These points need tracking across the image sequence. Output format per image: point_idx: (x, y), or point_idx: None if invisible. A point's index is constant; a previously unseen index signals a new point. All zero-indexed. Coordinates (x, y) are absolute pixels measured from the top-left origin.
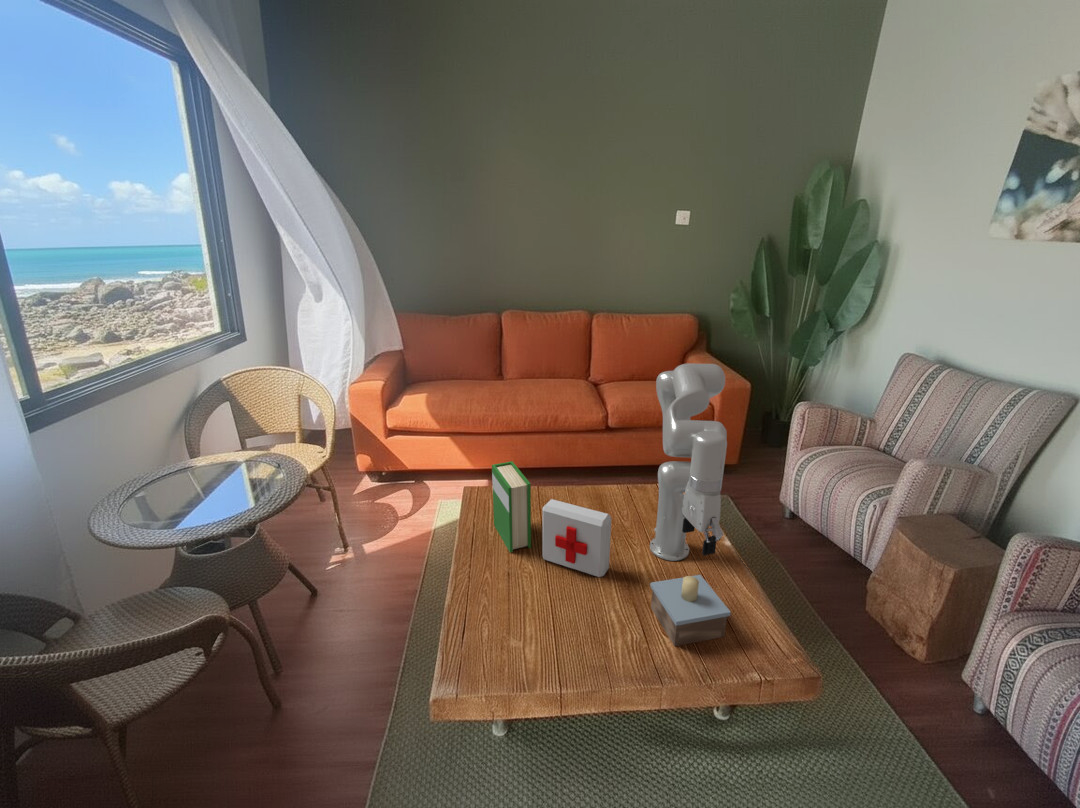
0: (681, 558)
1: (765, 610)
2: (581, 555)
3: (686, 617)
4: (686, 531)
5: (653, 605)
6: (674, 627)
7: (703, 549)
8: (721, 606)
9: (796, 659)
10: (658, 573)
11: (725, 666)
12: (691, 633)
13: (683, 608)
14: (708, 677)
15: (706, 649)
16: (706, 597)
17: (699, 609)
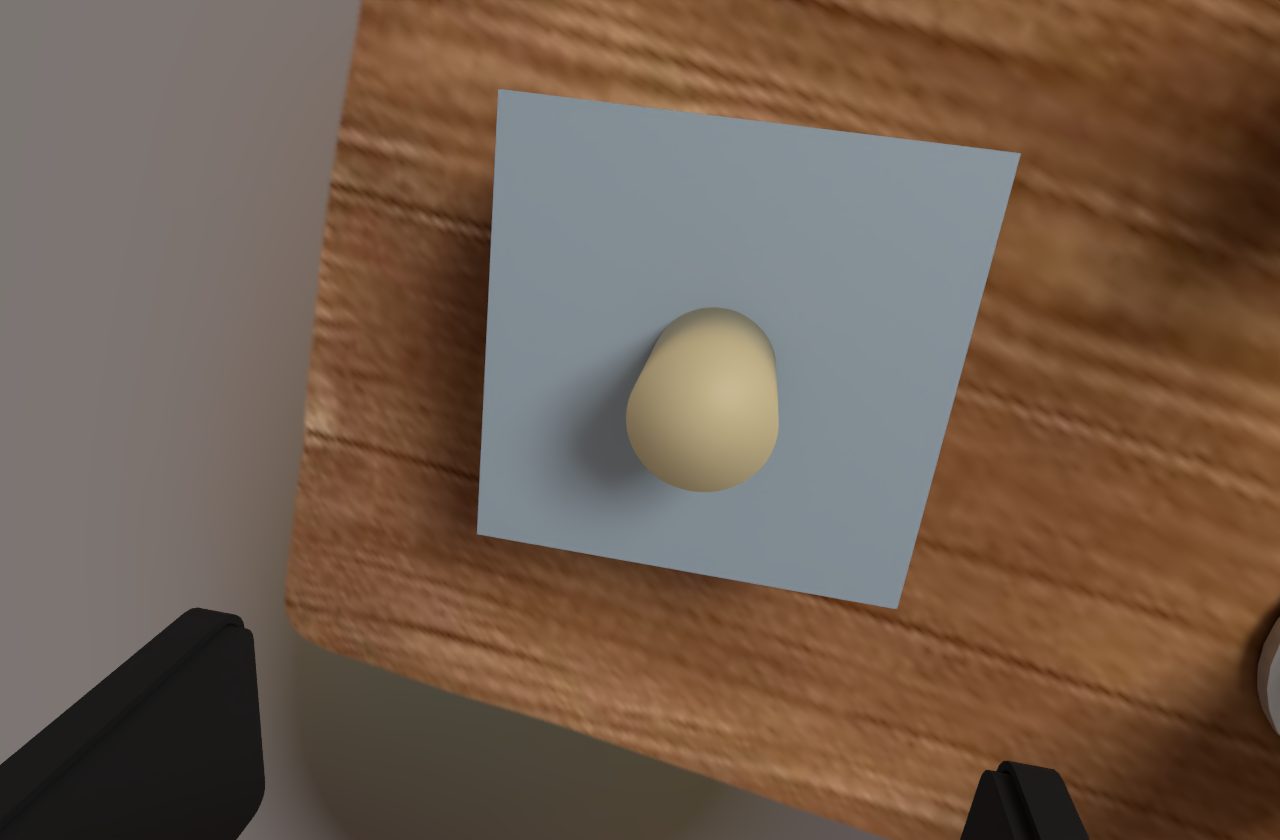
0: (1264, 665)
1: (655, 751)
2: None
3: (517, 201)
4: (978, 828)
5: None
6: None
7: (106, 683)
8: (542, 515)
9: (357, 643)
10: (1237, 436)
11: (396, 319)
12: None
13: (612, 241)
14: (353, 184)
15: None
16: (656, 482)
17: (564, 353)
